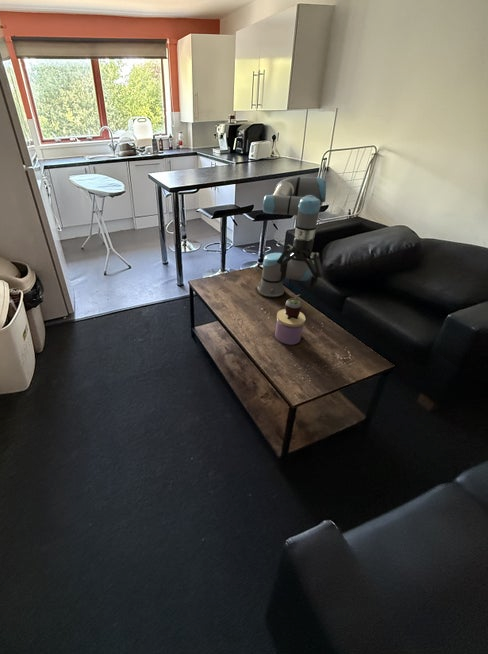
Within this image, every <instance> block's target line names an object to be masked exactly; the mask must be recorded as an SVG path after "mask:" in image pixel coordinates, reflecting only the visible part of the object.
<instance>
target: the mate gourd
mask: <svg viewBox="0 0 488 654" xmlns="http://www.w3.org/2000/svg"><path fill="white" fill-rule="evenodd" d="M299 296H302V294H297V295H296V296H295V298H289V299H287V300H286V302H285V303H284V309H285V311H286V313H285V314H287V315H288V318H287V319H290V318H291V317H293V318H296V319H298V315H299V313H300V312H301V310H302V303H301V301H300V300H299V299H298V298H299Z"/></svg>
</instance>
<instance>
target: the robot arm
mask: <svg viewBox="0 0 488 654" xmlns="http://www.w3.org/2000/svg"><path fill="white" fill-rule="evenodd" d="M273 190H274V191H273V192H274V193H273V194H266V195H265V196H264V198H263V202H262V211H263V213H265V214H269V215H284V216H285V215H286V216H287V215H288V216H296V217H297V218H296V224H295V229H294V230H295V231H294V237H293V243H292V244H291V243H288V244H287V245H286V246H285V247H284V251H283V252H271V253H268V254H266V255H265V256H264V258H263V261H262V271H261V272H262V273H261V280H260V281H259V283H258V286H257V293H258V294H259V295H260V296H262V297H265V298H270V299H273V298H276V299H277V298H280V297H282V296H283V295H284V293H285V287H284V282H283V281H284V280H285V279H287V280H293V281H299V282H300V281H302V282H303V281H304V282H307V281H309V280H310V282H309V285H308V291H309V292H311V291H313V290H314V289H315V285H316V284H317V283H318V278H322V277H323V276H324V274H325V273H324V271H323V267H322V263H321V259H320V252H318V251H317V252H314V251H313V248H314V247H313V246H314V242H315V236H316V229H317V224H318V220H319V214H320V213H319V212H320V210H321V207H322V204H323V203H326V198H327V180H326V179H325V178H324V177H311V176H291V177H287V178H284V179H282V180H280V181H279V182H278V183H276V185H275V187H274V189H273ZM290 251H291V253H290V254H289V252H290ZM288 254H289V256H288V257H287V255H288Z"/></svg>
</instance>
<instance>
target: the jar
mask: <svg viewBox="0 0 488 654" xmlns="http://www.w3.org/2000/svg"><path fill="white" fill-rule="evenodd" d="M285 313H286V311H285V308H283V309H280V310H278V312H277V314H276V323H275V330H274V331H275V332H274V337H275V339H276V340H277V341H278V342H279V343H282V344H285V345H296V344H299V343H300V342H301V340H302V336H303V331H304V326H305V323H306V316H305V314H304V313H303V312H301V311H300V313H299V315H298V319H296V318H293V317H291V318H290V319H287V318H288V315H287V314H285Z"/></svg>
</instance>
